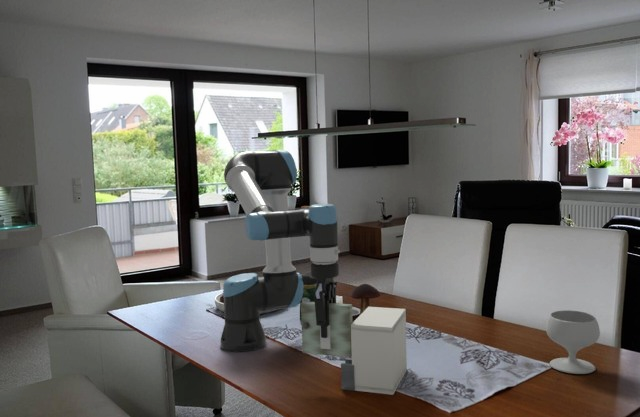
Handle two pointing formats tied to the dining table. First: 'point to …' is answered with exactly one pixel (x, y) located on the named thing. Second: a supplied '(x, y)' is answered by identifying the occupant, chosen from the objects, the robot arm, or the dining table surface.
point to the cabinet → (379, 349)
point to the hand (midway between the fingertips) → (327, 346)
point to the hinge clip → (347, 375)
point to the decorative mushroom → (365, 295)
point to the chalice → (572, 338)
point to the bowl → (220, 303)
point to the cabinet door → (338, 329)
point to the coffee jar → (308, 289)
